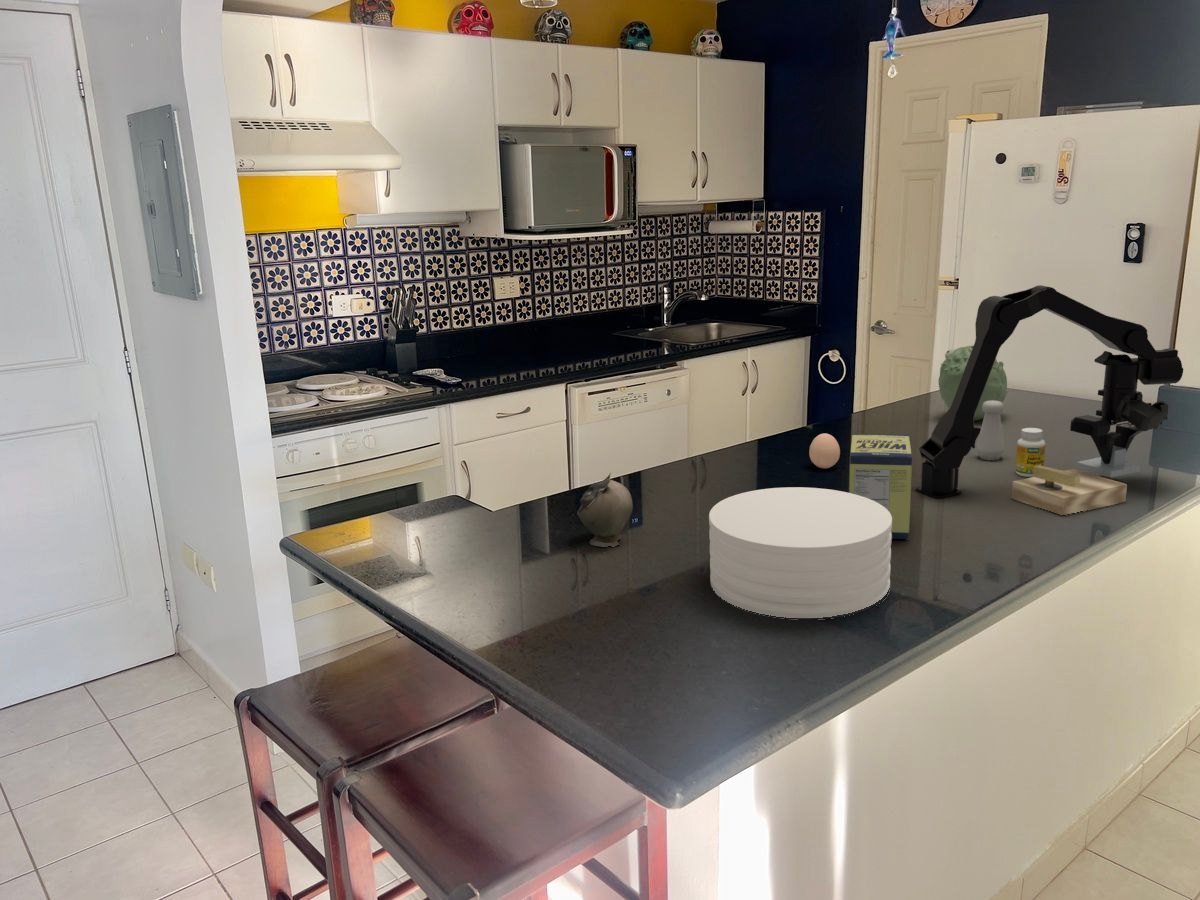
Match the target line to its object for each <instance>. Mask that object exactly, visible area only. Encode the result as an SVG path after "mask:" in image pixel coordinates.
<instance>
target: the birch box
mask: <svg viewBox="0 0 1200 900" xmlns="http://www.w3.org/2000/svg"><path fill="white" fill-rule="evenodd" d="M1064 471H1065V472H1069V473H1074V474H1078V475H1081V476H1080V486H1077V487H1071V486H1067V485H1064V484H1060V483H1056V482H1054V487H1047V486H1045V480H1044V479H1040V478H1037V477H1026V478H1023V479H1019V480H1013V481H1012V486H1011V499H1012V500H1015V501H1018V502H1020V503H1023V504H1026V505H1029V506H1032V507H1035V508H1037V507H1039V508H1038V509H1040V508H1042V509H1041V510H1043V509H1045V510H1044V511H1046V510H1048V511H1047V512H1049V511H1051V512H1054V513H1057V514H1060V515H1066V516H1068V515H1067V514H1070V515H1072V514H1071V513H1075V514H1078V513H1077V512H1079V513H1081V512H1080V511H1083V512H1087V510H1088V511H1091V510H1095V509H1099V508H1104V507H1110V506H1113V505H1118V504H1122V503H1126V501H1127V498H1126V497H1127V490H1128V484H1127V483H1124V482H1120V481H1117V480H1113V479H1110V478H1108V477H1105V476H1101V475H1098V474H1093V473H1091V472H1087V471H1083V470H1081V469H1077V468H1072V469H1071V468H1070V469H1067V470H1066V469H1065V470H1064ZM1051 512H1050V513H1051ZM1054 513H1053V514H1054ZM1057 514H1056V515H1057ZM1060 515H1059V516H1060Z"/></svg>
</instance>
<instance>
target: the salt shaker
mask: <svg viewBox="0 0 1200 900" xmlns="http://www.w3.org/2000/svg"><path fill="white" fill-rule="evenodd" d="M982 410H983V412H985V415H984V418H983V419H982V424H981V428H980V429H981V430H980V433H979V435H978V439H977V444H976V446H975V448H976V451H977V454H978V456H979V457H980V459H981V460H983V459H984V461H989V462H990V460H991V461H998V460H999V459H1000V458H1001V457H1002V455H1003V453H1004V451H1005V441H1004V432H1003V424H1002V415H1001V413H1002V412H1003V411H1004V403H1003V402H1000V401H994V400H991V401H985V402H984V403H983V406H982Z"/></svg>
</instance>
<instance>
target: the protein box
mask: <svg viewBox="0 0 1200 900" xmlns="http://www.w3.org/2000/svg"><path fill="white" fill-rule="evenodd" d="M912 467H913V455H912V449H911V442H910V435H909V434H892V433H891V434H890V433H889V434H885V433H881V434H879V433H852V434H851V445H850V457H849V493H852V494H856V495H859V496H862V497H865V498H868V499H871V500H873V501H875V502H877V503H879V504H881V505H882V506H884V507H885V508H886V509H887V510H888V511H889V512H890V514H891V516H892V529H891V534H892V540H893V539H909V540H910V523H911V522H910V521H911V520H910V519H911V496H912V495H911V494H912V493H911V491H912V471H913V469H912Z"/></svg>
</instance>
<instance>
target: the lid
mask: <svg viewBox="0 0 1200 900" xmlns="http://www.w3.org/2000/svg"><path fill="white" fill-rule="evenodd" d="M1126 455H1127V452H1126V449H1125V448H1121V447H1117V446H1113V450H1112V456H1111V460H1110V463H1109V464H1104V463H1103V461H1102V458H1101V456H1099V457H1095V458H1089V459H1085V460H1079V461H1076V464H1075V469H1078V470H1081V471H1083V470H1084V471H1085V472H1088V473H1092V474H1093V473H1094V474H1095V475H1099V476H1102V477H1106V478H1109V479H1110V478H1115V477H1119V476H1124V475H1129V474H1133V473H1138V472H1140V471H1141V465H1139V464H1136V463H1132V462H1127V461H1126Z"/></svg>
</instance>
